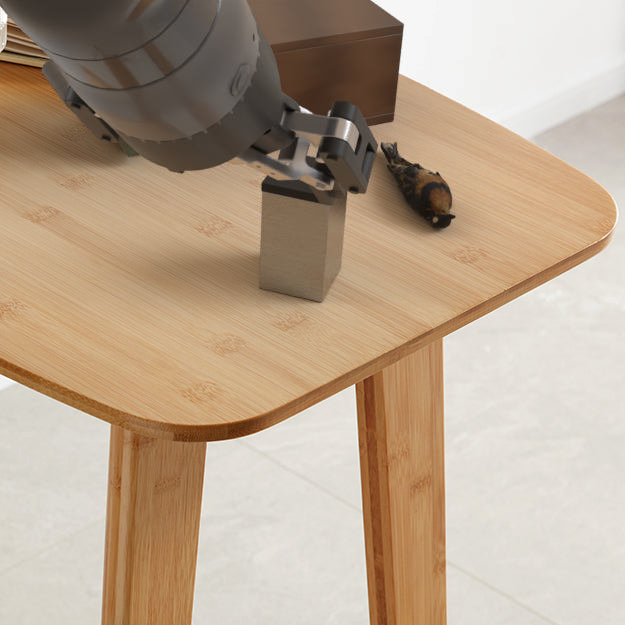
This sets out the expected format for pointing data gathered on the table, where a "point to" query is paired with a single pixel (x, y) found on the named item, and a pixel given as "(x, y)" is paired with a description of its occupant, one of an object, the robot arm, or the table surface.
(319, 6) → the cabinet
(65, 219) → the table surface
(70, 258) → the table surface
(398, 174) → the bird model
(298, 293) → the steel tin
